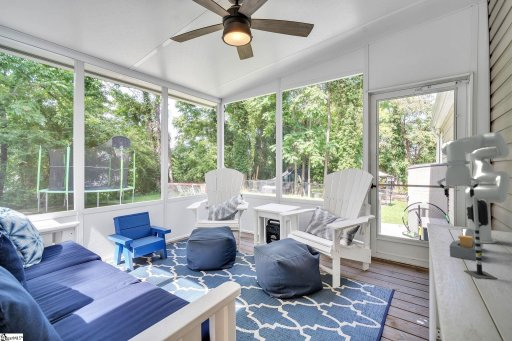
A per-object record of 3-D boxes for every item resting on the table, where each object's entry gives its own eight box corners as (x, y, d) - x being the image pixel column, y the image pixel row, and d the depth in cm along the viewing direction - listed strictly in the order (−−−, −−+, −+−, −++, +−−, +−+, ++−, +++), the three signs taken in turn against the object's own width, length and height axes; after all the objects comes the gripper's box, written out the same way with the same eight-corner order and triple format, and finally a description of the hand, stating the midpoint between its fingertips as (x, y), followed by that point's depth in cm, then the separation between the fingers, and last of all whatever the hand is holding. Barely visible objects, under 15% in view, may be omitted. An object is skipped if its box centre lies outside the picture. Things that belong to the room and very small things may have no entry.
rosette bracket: (456, 244, 132) (455, 226, 132) (484, 248, 124) (483, 228, 124) (449, 256, 114) (447, 234, 115) (480, 261, 106) (479, 238, 107)
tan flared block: (461, 253, 117) (459, 234, 117) (474, 256, 113) (473, 236, 114) (459, 255, 115) (458, 236, 115) (473, 257, 111) (471, 237, 111)
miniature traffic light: (499, 279, 88) (494, 197, 89) (475, 278, 90) (470, 197, 91) (484, 271, 96) (479, 195, 97) (462, 270, 97) (458, 196, 98)
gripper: (479, 162, 122) (482, 196, 122) (437, 165, 134) (439, 195, 134) (478, 163, 117) (481, 198, 116) (434, 165, 129) (437, 197, 129)
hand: (459, 196), depth 125 cm, fingers open, 9 cm apart
